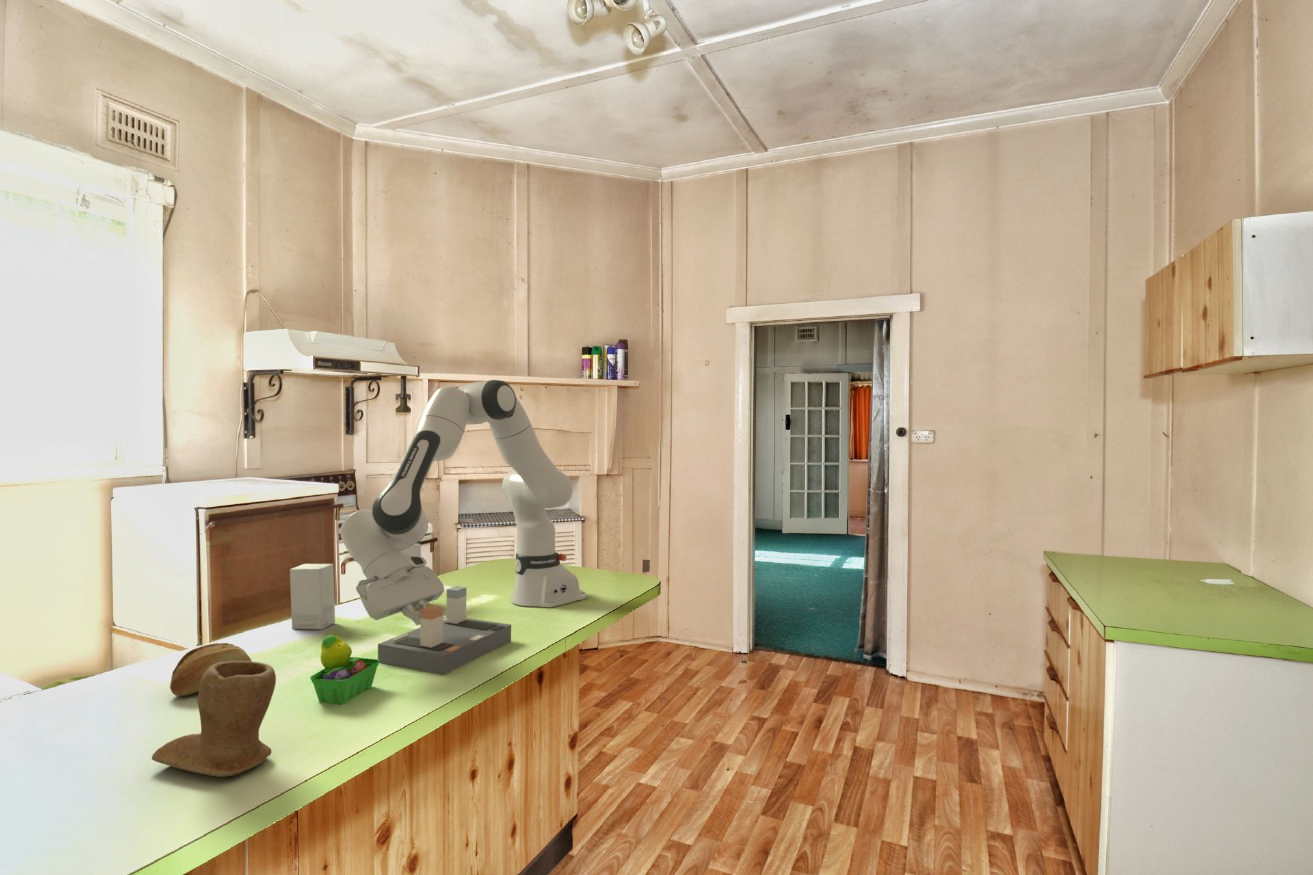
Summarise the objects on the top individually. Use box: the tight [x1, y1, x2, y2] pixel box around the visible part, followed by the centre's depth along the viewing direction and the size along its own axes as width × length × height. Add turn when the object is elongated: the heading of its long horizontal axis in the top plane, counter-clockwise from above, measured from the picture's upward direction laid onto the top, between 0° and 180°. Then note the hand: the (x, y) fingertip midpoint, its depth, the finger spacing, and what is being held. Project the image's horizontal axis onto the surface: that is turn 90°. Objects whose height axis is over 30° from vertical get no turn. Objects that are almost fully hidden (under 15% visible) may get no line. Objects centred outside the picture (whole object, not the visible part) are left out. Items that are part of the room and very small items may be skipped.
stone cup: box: [151, 661, 277, 778], centre depth 103 cm, size 15×12×15 cm
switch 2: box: [445, 585, 467, 624], centre depth 163 cm, size 4×3×8 cm
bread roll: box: [169, 642, 253, 697], centre depth 133 cm, size 10×15×8 cm, turn 156°
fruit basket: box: [309, 634, 380, 705], centre depth 130 cm, size 11×9×11 cm
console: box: [377, 617, 512, 676], centre depth 155 cm, size 24×18×5 cm
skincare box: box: [289, 563, 336, 631], centre depth 172 cm, size 8×7×16 cm
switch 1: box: [419, 604, 444, 648], centre depth 146 cm, size 4×3×8 cm
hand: (423, 621), depth 147 cm, fingers closed, pressing on switch 1
